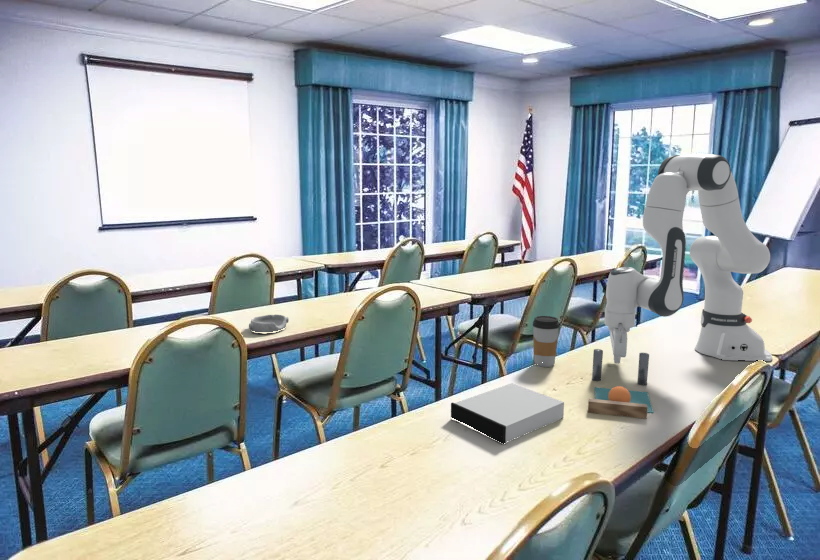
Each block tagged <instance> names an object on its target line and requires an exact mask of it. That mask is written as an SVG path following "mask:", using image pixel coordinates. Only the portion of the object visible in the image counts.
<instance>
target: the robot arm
mask: <svg viewBox="0 0 820 560" xmlns="http://www.w3.org/2000/svg"><path fill="white" fill-rule="evenodd" d="M731 168H732V167H731V164H730V162H728V159H727V158H726V157H724V156H722V155H720V154H713V153H711V154H710V153H709V154H707V153H692V154H682V155H679V154H677V155H675V154H674V155H672V156H669V157H666V158H665V159H664V160H663V161H662V162H661V164H660V165H659V168H658V171H657V175H656V177H655V178H654V179H653V181H652V183H651V186H650V188H649V191H648V194H647V197H646V201H645V205H644V206H645V207H644V210H643V215H642V227H643V229H644V230H645V233H646V234H648V235H649V237H650V238H652V239H653V240H654V241H655V242H656V243H657V244H658V245H659V246H660V249H661V251H662V261H661V269H660V278H659V279H656V278H654V277H649V276H647V275H645V274H642V273H640V272H639V271H638V270H636V269H635V268H634V267H629V266H620V267H616V268H613V269H612V270H610V272H609V275H608V278H607V283H606V290H605V297H606V306H605V309H604V325H605V326H606V327H608V328H607V329H608V331H609V340H610V342H611V343H610V344H611V348H612V349H611V350H612V355H613V363H614V364H618V365H619V364H620V363H621V358H626V357H627V354H628V353H627V350H628V348H627V347H628V333H629V332H630V331H631V329H632V328H634V327H635V323H636V312H637V311H636V309H637V308H639V307H640V308H642V309H645V310H647V311H650V312H652V313H654V314H656V315H658V316H660V317H663V318H664V317H665V318H666V317H670V316H673V315H674V314H676V313H677V312H679V310H681V308H682V306H683V303H684V299H685V298H684V297H685V296H684V288H683V287H684V286H683V285H684V284H683V281H684V280H683V278H684V270H685V268H684V267H685V259H686V258H685V257H686V247H687V244H686V243H687V240H686V239H687V238H686V234H685V232H684V229H683V228H684V227H683V220H684V219H683V218H684V211H685V207H686V202H687V195H688V193H690V192H692V191H697V193H698V194H697V197H698V201H699V202H698V203H699V207H700V213H701V218H702V223H703V226H704V228H706V229H707V230H708V231H709V232H710V233H712V234H713V235H705V236H699V237H697V238H696V239H694V240H693V242H692V243H691V245H690V248H689V255H690V256H689V258H690V259H691V261H692V262H693V263H694V264H695V265H696V267H697V268H698V270H699V271H700V274H701V276H702V280H703V284H704V302H703V303H704V307H703V309H702V312H701V316H700V319H701V320H700V326H701V328H700V332H699V337H698V340H697V343H696V345H695V346H694V349H695V351H696V352H698V353H700V354H703V355H704V356H709V357H713V358H716V359H719V360H721V359H722V361H738V360H745V362H749V361H750V362H757V361H756V360H764V361H763V362H771V361H772V360H773V356H772V353H771V352H770V351H769V350H767V349H766V348H765V342H764V341H765V340H764V339H763V337H762V336H761V335H760V334H759V333H758V332H756V331H755V330H754V329H753V328H752V327H751V326H749V325H748V324H751V323H752V321H753V319H752V317H750V316H749V315H746V314H745V313H743V312H742V309H743V299H744V290H743V288H742V287H741V286H740V284H738V282H736V281H735V279H734V278H733V275H732V273H737V274H743V275H745V274H749V275H751V274H752V275H753V274H759V273H762V272H763V271H764V270H765V269H766V268H767V267H768V265H769V264H770V261H771V252H770V250H769V249H770V248H768V246H767V245H766V244H764V243H763V242H762V241H760V240H759V238H757V237H756V236H755V235H754V234H753V232H752V231H751V230H750V228H749V227H748V225H747V223H746V222H745V220H744V219H745V218H744V215H743V212H742V208H741V203H740V197H739V192H738V191H739V190H738V187H737V183H736V180H735V177H734V175H733V172H732V169H731Z"/></svg>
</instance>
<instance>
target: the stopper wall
mask: <svg viewBox="0 0 820 560" xmlns="http://www.w3.org/2000/svg"><path fill="white" fill-rule="evenodd" d="M587 400H588V403H587V404H588V405H587V413H591V414H600V415H609V416H616V417H617V416H619V417H626V418H638V419H645V420H646V419H647V417H648V413H647V408H648V407H647V404H639V403H629V402H619V401H609V400H599V399H595V398H588V399H587Z"/></svg>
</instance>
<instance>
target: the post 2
mask: <svg viewBox="0 0 820 560" xmlns="http://www.w3.org/2000/svg"><path fill="white" fill-rule="evenodd" d="M649 361H650V353H647V352H639V355H638V368H637V385H639V386H647V385H648V378H649V377H648V376H649V375H648V373H649V365H650V364H649Z"/></svg>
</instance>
